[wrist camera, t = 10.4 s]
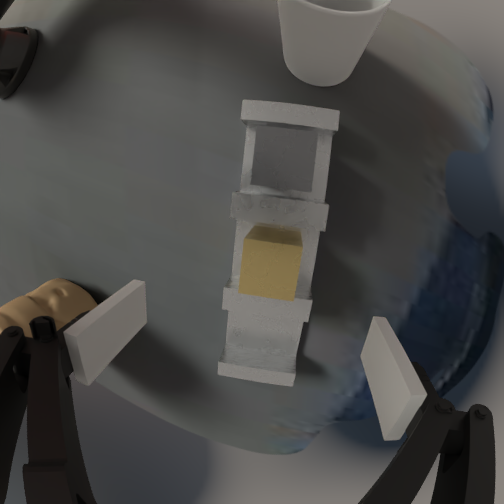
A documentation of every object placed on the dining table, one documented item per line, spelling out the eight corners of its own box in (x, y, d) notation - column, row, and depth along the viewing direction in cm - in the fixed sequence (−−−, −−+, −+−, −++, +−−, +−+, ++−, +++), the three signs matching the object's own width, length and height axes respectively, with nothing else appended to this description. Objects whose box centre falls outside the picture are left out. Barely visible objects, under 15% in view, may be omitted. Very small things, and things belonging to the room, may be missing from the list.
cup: (285, 86, 28) (276, 12, 12) (281, 28, 26) (268, -60, 10) (358, 88, 27) (407, 23, 11) (350, 30, 25) (380, -52, 9)
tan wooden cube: (254, 225, 31) (243, 238, 24) (300, 231, 31) (302, 247, 24) (249, 269, 32) (237, 293, 26) (293, 275, 32) (293, 301, 25)
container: (78, 346, 42) (14, 404, 24) (46, 282, 39) (-31, 324, 22) (126, 337, 39) (55, 411, 22) (89, 261, 37) (-4, 309, 19)
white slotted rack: (250, 111, 29) (236, 90, 21) (332, 120, 28) (345, 102, 20) (226, 351, 37) (211, 390, 29) (293, 362, 36) (291, 403, 28)
